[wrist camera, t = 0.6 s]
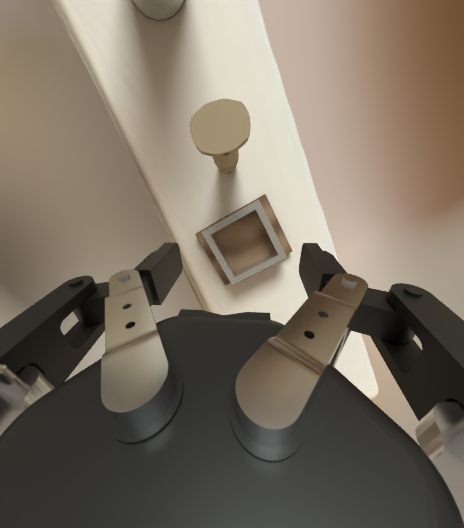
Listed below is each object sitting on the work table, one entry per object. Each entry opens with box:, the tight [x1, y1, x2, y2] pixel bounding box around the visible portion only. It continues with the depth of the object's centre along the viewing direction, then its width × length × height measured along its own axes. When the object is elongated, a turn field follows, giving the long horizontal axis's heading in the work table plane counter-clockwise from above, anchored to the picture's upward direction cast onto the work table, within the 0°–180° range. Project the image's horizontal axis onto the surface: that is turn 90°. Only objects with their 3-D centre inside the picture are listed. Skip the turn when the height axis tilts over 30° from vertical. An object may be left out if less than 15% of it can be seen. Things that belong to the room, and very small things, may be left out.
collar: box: [201, 200, 287, 285], centre depth 35 cm, size 11×11×3 cm
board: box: [196, 195, 292, 285], centre depth 37 cm, size 12×15×2 cm
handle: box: [190, 99, 250, 173], centre depth 27 cm, size 5×6×15 cm
